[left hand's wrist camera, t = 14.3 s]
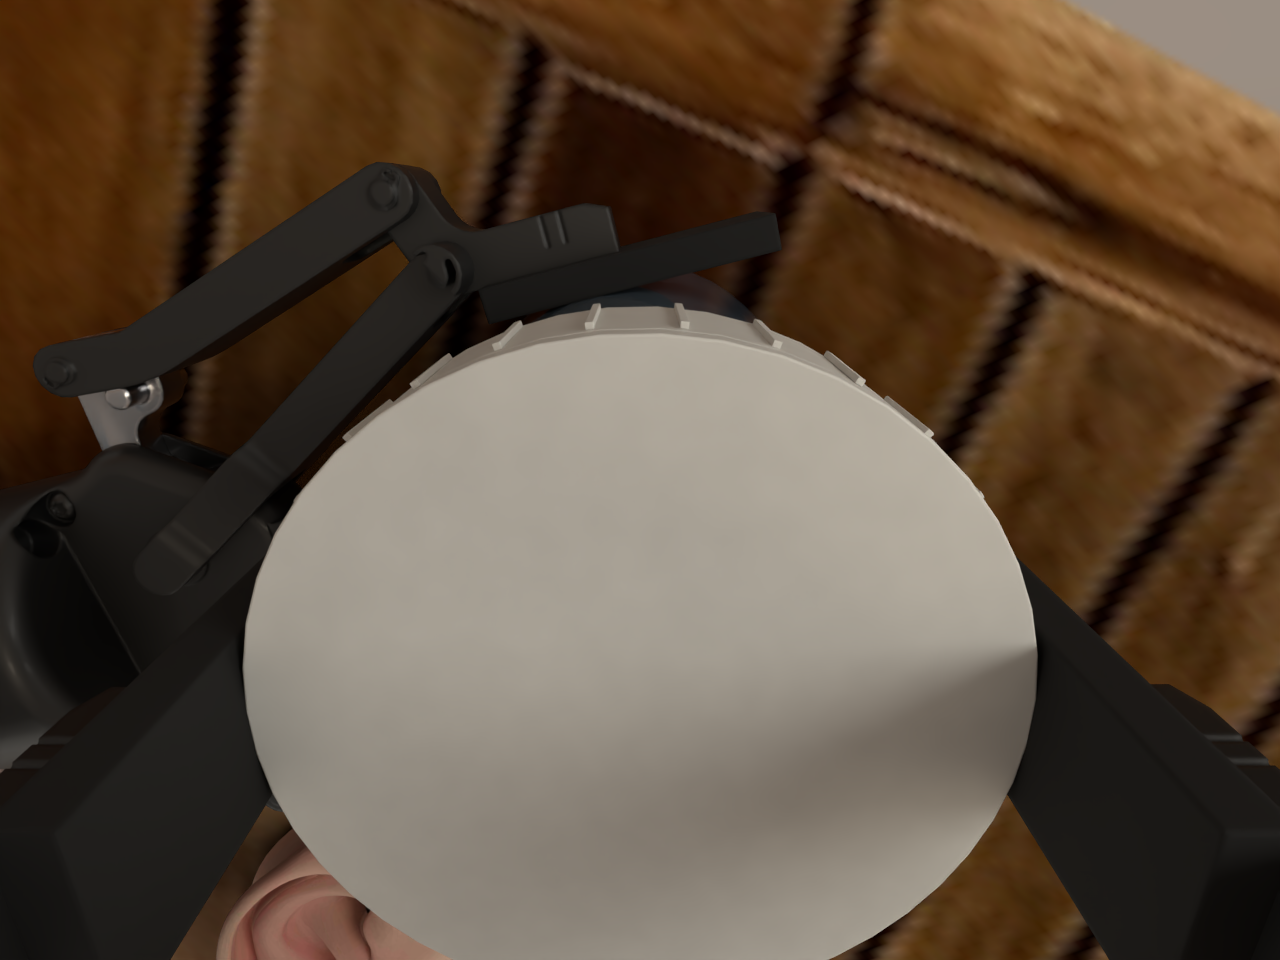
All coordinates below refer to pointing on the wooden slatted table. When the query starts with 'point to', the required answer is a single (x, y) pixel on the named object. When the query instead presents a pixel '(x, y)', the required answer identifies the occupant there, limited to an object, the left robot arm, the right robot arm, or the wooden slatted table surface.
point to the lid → (640, 650)
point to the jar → (662, 299)
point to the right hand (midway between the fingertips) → (807, 445)
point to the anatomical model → (308, 916)
